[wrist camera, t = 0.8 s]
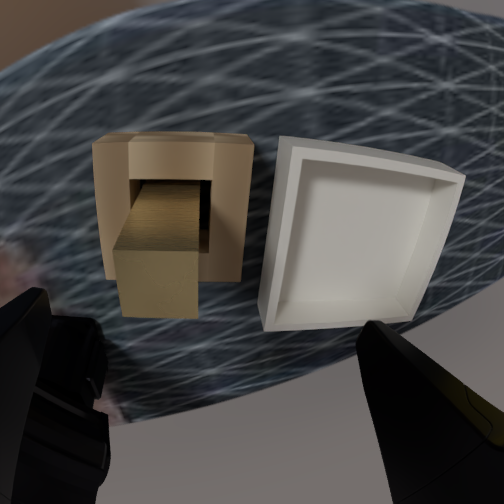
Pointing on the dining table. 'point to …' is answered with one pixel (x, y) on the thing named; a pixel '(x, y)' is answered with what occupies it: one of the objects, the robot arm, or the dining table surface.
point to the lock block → (178, 167)
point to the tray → (352, 234)
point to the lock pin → (160, 251)
